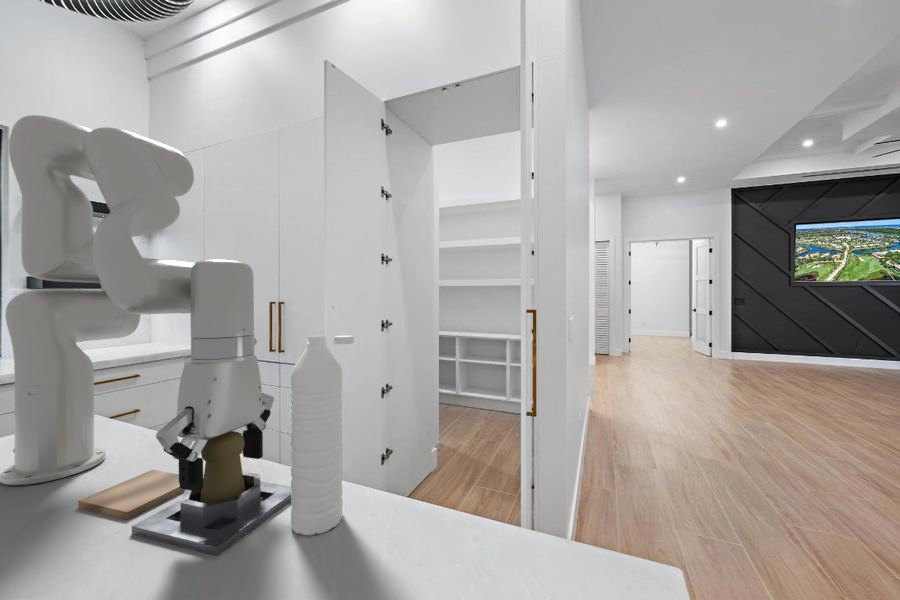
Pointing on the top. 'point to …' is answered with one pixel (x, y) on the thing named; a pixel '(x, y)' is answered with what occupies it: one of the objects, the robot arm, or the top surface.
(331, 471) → the water bottle
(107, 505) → the coaster board
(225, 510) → the grey octagonal holder
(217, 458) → the cork
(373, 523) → the top surface
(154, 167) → the robot arm
